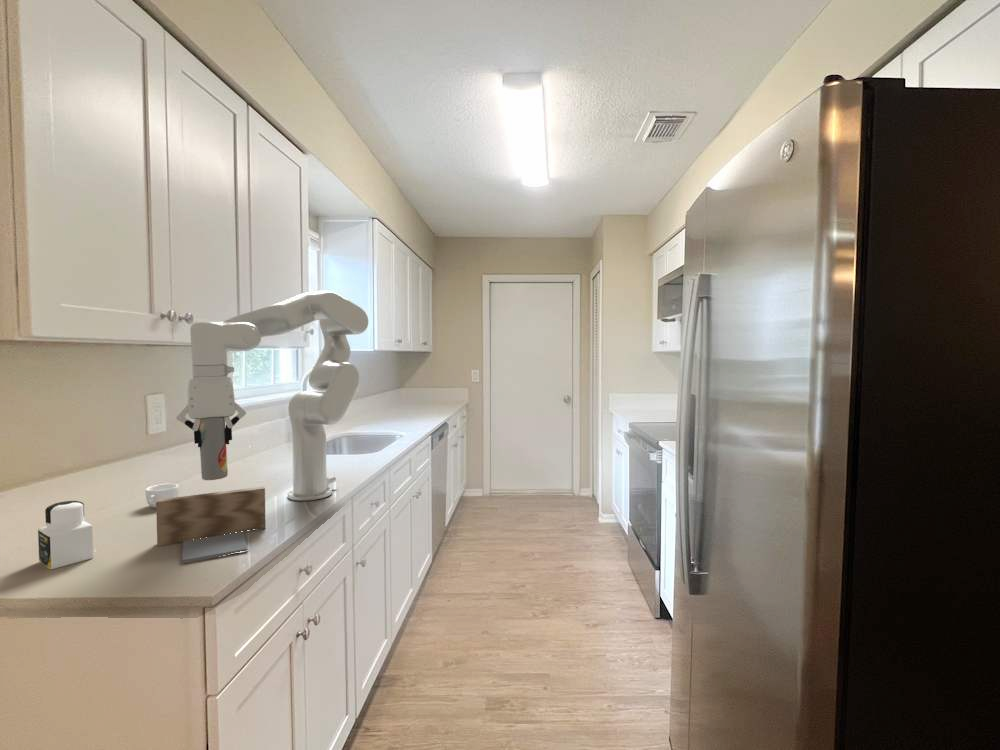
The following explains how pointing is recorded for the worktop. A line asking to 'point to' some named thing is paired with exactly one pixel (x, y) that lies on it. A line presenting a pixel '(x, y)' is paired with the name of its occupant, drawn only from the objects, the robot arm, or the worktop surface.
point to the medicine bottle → (65, 535)
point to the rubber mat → (213, 547)
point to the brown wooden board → (209, 515)
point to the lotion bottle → (213, 449)
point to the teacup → (161, 493)
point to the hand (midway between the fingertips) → (213, 444)
